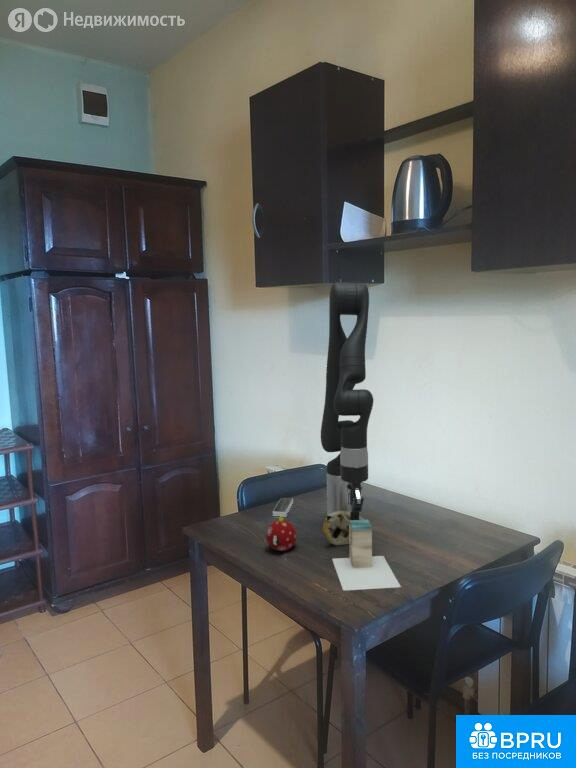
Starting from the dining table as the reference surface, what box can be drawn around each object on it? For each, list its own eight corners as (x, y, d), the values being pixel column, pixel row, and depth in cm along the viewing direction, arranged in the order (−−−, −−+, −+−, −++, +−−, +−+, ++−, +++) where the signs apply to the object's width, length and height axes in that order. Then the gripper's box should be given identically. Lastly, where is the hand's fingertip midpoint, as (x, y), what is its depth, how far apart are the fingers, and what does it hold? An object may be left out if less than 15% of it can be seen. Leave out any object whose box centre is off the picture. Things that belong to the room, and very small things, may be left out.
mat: (332, 560, 155) (332, 558, 155) (383, 557, 156) (383, 555, 156) (343, 592, 137) (343, 590, 137) (401, 589, 138) (401, 587, 138)
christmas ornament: (302, 546, 165) (301, 513, 163) (288, 558, 157) (287, 523, 156) (275, 542, 168) (274, 509, 167) (261, 553, 161) (260, 518, 160)
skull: (307, 540, 164) (314, 506, 164) (342, 540, 175) (349, 507, 176) (333, 551, 157) (340, 515, 157) (367, 550, 168) (374, 516, 169)
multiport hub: (272, 518, 189) (272, 511, 189) (281, 503, 203) (281, 497, 203) (285, 518, 188) (285, 512, 188) (293, 504, 203) (293, 498, 202)
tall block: (349, 560, 153) (349, 520, 152) (368, 559, 154) (367, 519, 152) (353, 568, 148) (352, 527, 147) (372, 567, 149) (371, 526, 148)
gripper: (336, 457, 162) (337, 516, 164) (344, 469, 149) (345, 533, 151) (362, 456, 163) (363, 515, 165) (373, 468, 150) (373, 532, 152)
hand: (354, 523), depth 158 cm, fingers closed
